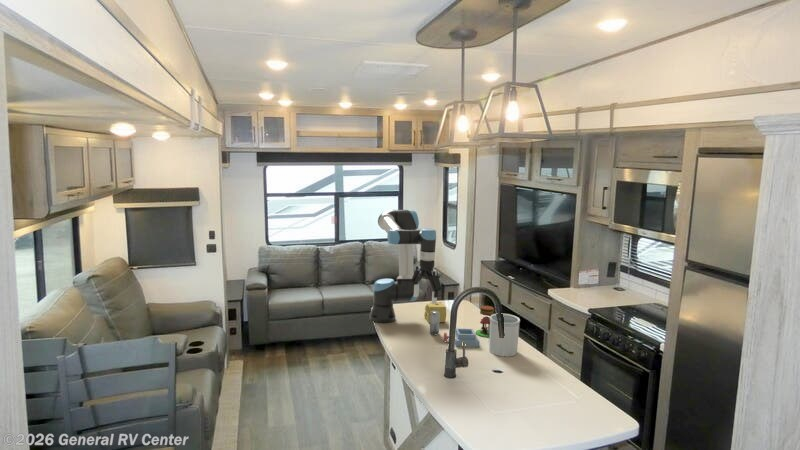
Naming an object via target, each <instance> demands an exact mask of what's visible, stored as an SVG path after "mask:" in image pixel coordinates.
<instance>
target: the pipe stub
mask: <svg viewBox="0 0 800 450" xmlns="http://www.w3.org/2000/svg"><path fill="white" fill-rule="evenodd" d="M439 321H440V312H439V311H431V316H430V323H429V334H430V335H431V334H438V333H439V332H440V323H439ZM438 335H439V334H438Z"/></svg>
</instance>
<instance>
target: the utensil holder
mask: <svg viewBox="0 0 800 450" xmlns="http://www.w3.org/2000/svg"><path fill="white" fill-rule="evenodd" d="M496 314H497V313H494V314H493V315H491V316H489V318H490V337H489V341H488V342H489V343H488V348H489V350H490V351H489V352H490V353H491V354H493V355H495V356H498V355H499V356H498V357H504V356H505V357H514V356H516V355H517V354H518V346H519V334H520V323H521V319H520V317H518V316H516V315H513V314H510V313H502V314H503V317H504V333H505V336H504V338H503V339H500V338H499V333H498V321H497V317H496ZM516 353H517V354H516ZM505 357H504V358H505Z"/></svg>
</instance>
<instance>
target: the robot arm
mask: <svg viewBox="0 0 800 450" xmlns="http://www.w3.org/2000/svg"><path fill="white" fill-rule="evenodd" d="M419 223H420V222H419V217H418V214H417V212H416V211H415V210H413V209H412V210H411V209H388V210H387V209H386V210H385V211H383V212H382V213H381V214H379V216H378V218H377V224H378V226H379V228H380V229H381V230H382V231H383V230H384V231H385V232H386V233H387V234H386V235H387V236H386V238H387V242H388V244H389V245H398V276H397V277H396V281H395V279H393V278H380V279H377V280H376V281H374V283H373V298H372V301H373V302H372V303H373V304H372V307H371V310H370V313H369V320H370V321H372V322H375V323H382V324H387V323H388V324H389V323H392V322H395V321H396V313H395V309H394V302H415V301H416V300H417V299H418V297H419V294H420V282H421V281H422V279H423V278H425V279H427V280H428V281H429V283H430V284H431V285H430V286H431V287H432V292H431V293H432V295H431V302H432V304H435V303H437V302H438V296H439V291H440V292H441V291H442V286H441V283H440V279H439V273H438V270H434V268H435V259H436V246H437V245H436V242H437V241H436V240H437V230H436V229H434V228H419ZM414 245H420V249H419V250H420V251H419V252H420V253H419V254H420V255H419V258H420V259H419V265H418V266H416V267H415V270H414Z"/></svg>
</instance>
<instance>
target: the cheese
mask: <svg viewBox="0 0 800 450" xmlns="http://www.w3.org/2000/svg"><path fill="white" fill-rule="evenodd" d="M431 311H439V312H440V321H439V322H445V323H446V319H447V307H446V306H445V305H444V303H443V302H441V301H437V303H435V304H432V301H430V303H426V305H425V307H424V315H423V316H424V319H425V318H426V319H425V321H427V323H428V322H429V323H428V324H430V316H431Z"/></svg>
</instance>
